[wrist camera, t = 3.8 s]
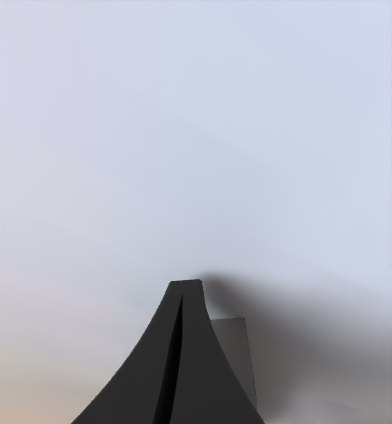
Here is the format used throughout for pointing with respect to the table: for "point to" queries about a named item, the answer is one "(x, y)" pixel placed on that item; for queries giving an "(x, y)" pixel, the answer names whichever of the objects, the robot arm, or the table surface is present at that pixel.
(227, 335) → the tall grey block
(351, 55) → the table surface
